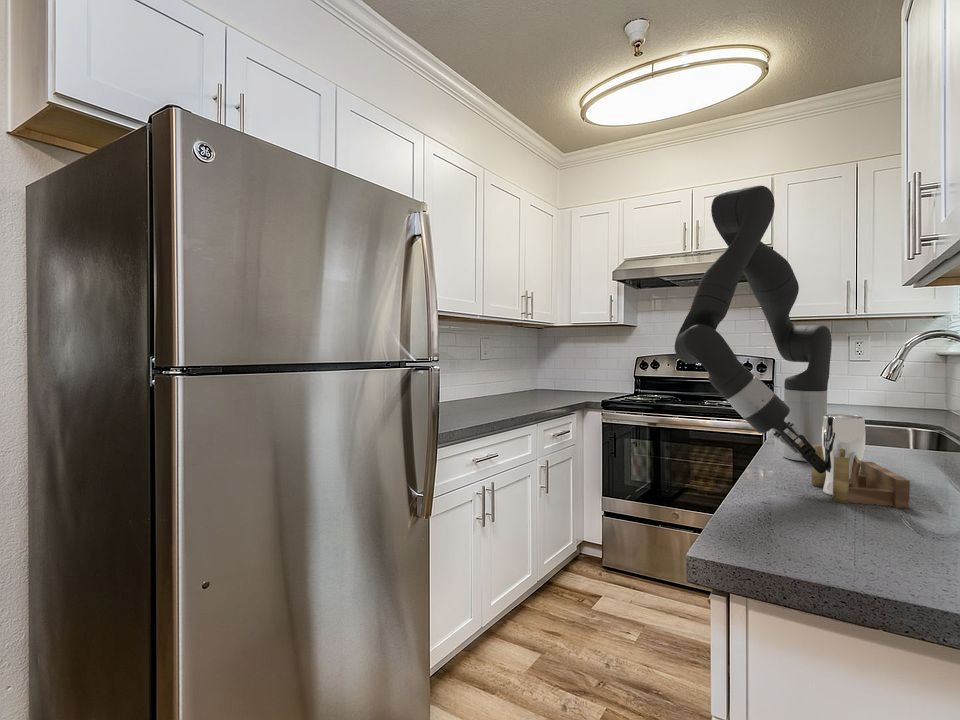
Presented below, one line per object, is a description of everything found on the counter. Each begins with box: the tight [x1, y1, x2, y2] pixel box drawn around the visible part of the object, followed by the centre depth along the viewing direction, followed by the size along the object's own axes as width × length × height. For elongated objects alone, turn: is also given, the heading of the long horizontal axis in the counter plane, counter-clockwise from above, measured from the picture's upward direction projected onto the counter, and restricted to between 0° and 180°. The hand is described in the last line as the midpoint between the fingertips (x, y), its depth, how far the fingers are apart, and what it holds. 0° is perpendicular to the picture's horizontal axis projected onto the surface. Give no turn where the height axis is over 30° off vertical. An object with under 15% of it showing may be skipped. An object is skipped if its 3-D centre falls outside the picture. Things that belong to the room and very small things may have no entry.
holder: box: [811, 445, 911, 510], centre depth 104 cm, size 15×11×8 cm
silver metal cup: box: [822, 413, 866, 497], centre depth 104 cm, size 7×7×15 cm
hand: (824, 470), depth 105 cm, fingers closed
